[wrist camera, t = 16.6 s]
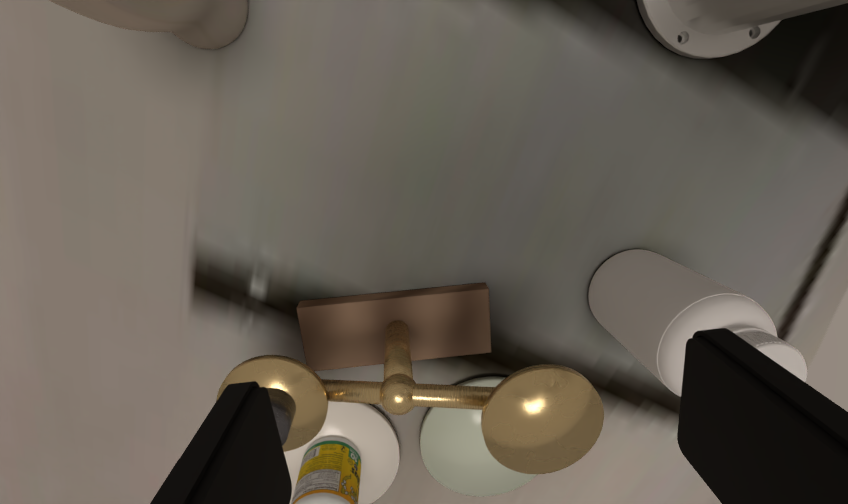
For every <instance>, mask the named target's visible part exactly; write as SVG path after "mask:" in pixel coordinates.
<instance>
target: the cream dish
mask: <svg viewBox="0 0 848 504" xmlns="http://www.w3.org/2000/svg"><path fill="white" fill-rule="evenodd" d="M324 437H341V438H344V439H346V440H348V441H350V442H351V443H352V444H353V445H354V446H355V447H356V448H357V449H358V451H359V453H360V455H361V475H360V486H359V497H358V504H371V503H373V502H374V501H375V500H377V499H378V498H379V497H380V496H382V495H383V494H384V493H385V492H386V490H387V489H388V488H389V487H390V485H391V484H392V482H393V481H394V478H395V476H396V474H397V471H398V467H399V443H398V438H397V435H396V433H395V430H394V429H393V427H392V425H391V423H390V422H389V421H388V420H387V418H386V417H385V416H384V415H383V414H382V413H381V412H380V411H378V410H377V409H376V408H374V407H373V406H371V405H369V404H366V403H348V402H330V401H328V411H327V416H326V420H325V422H324V425H323V427H322V429H321V430H320V432H319V433H318V434H317V435H316V436H315V437H314V438H313V439H312V440H311V441H310V442H308V443H307V444H305V445H303V446H301V447H299V448H297V449H294V450H290V451H286V452H284V455H285V458H286V462H287V466H288V470H289V474H290V478H291V483H292V494H291V500H290V503H289V504H291V502H292V498H293V495H294V491H295V487H296V483H297V479H298V475H299V471H300V467H301V463H302V459H303V456H304V454H305V451H306V450H307V448H308V447H309V446H310V445H311V444H312V443H313V442H315V441H317V440H319V439H321V438H324Z"/></svg>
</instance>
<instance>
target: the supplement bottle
mask: <svg viewBox="0 0 848 504" xmlns="http://www.w3.org/2000/svg"><path fill="white" fill-rule="evenodd" d="M360 475H361V455H360V453H359V451H358V449H357V448H356V447H355V446H354V445H353V444H352V443H351V442H350V441H348V440H346V439H344V438H341V437H324V438H321V439H319V440H317V441H315V442H313V443H312V444H311V445H310V446H309V447H308V448H307V450H306V451H305V454H304V456H303V459H302V463H301V467H300V471H299V475H298V479H297V483H296V487H295V491H294V495H293V498H292V502H291V504H358V497H359V486H360Z"/></svg>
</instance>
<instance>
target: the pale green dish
mask: <svg viewBox="0 0 848 504" xmlns="http://www.w3.org/2000/svg"><path fill="white" fill-rule="evenodd" d="M505 378H506V377H496V376H492V377H481V378H475V379H472V380H468V381H465V382H463V383H461V384H458V386H480V387H496V386H497V385H498V384H499V383H500V382H501V381H502V380H504V379H505ZM481 415H482V410H474V409H456V408H438V407H430V409H429V410H428V412H427V414H426V416H425V418H424V420H423V423H422V426H421V431H420V449H421V455H422V459H423V462H424V464H425V466H426V468H427V470H428V471H429V473H430V474H431V475H432V476H433V477H434V478H435V479H436V480H437V481H438V482H439V483H440V484H442V485H443V486H445V487H446V488H448V489H450V490H452V491H455V492H457V493H460V494H464V495H469V496H481V497H484V496H494V495H500V494H503V493H507V492H510V491H512V490H515V489H517V488H519V487H521V486H523V485H525V484H526V483H528V482H529V481H531V480H532V479H533V478H534V477H535V476H537V475H538V474H525V473H520V472H516V471H513V470H511V469H509V468H507V467H505V466H503V465H502V464H500V463H499V462H498V461H497V460H496V459H495V458H494V457H493V456H492V455H491V453H490V452H489V450H488V448H487V446H486V444H485V441H484V437H483V434H482V430H481Z"/></svg>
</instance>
